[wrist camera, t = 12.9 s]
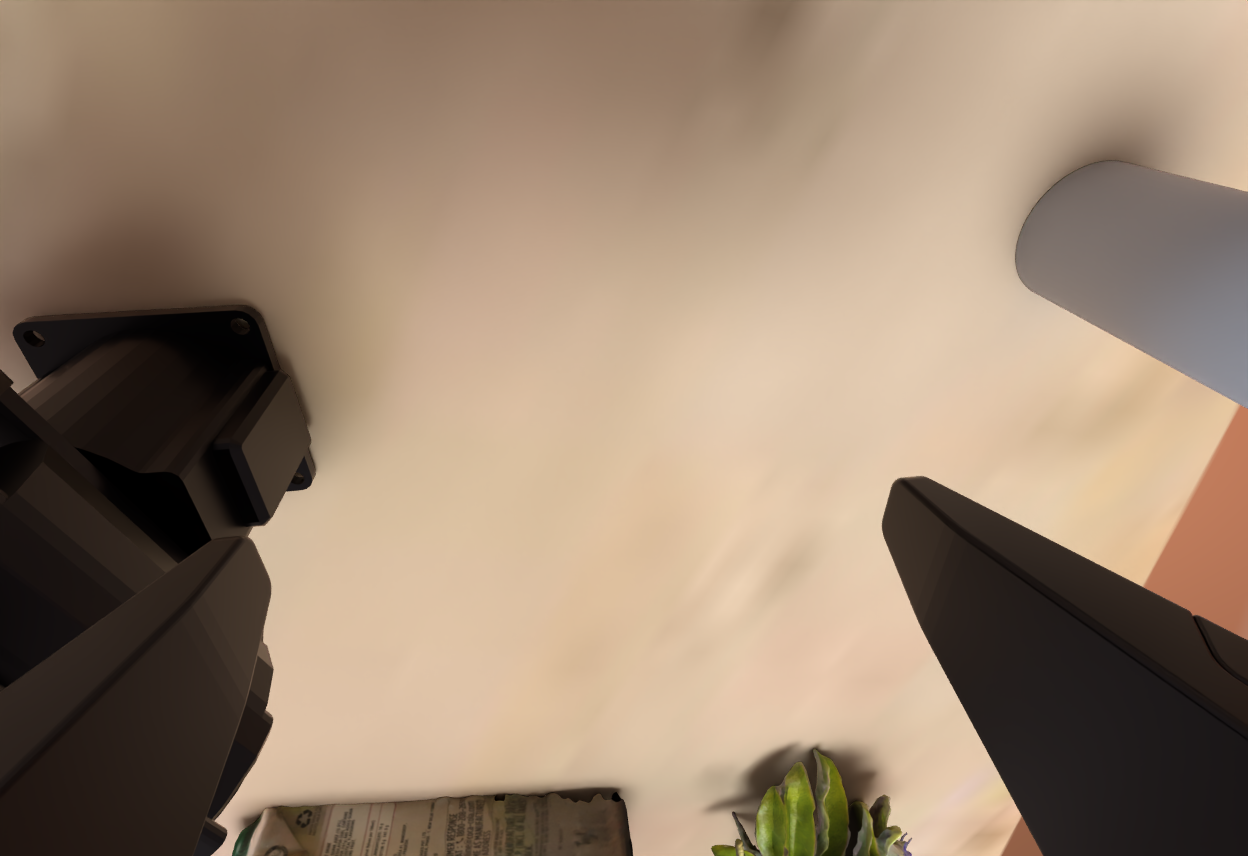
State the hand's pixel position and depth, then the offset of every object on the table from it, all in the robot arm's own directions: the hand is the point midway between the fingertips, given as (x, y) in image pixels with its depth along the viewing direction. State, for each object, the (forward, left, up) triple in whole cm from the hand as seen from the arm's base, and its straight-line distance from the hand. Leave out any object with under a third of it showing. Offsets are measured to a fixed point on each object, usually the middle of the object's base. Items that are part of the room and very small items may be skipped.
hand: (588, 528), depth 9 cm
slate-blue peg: (+17, 0, -12) cm, 21 cm away
